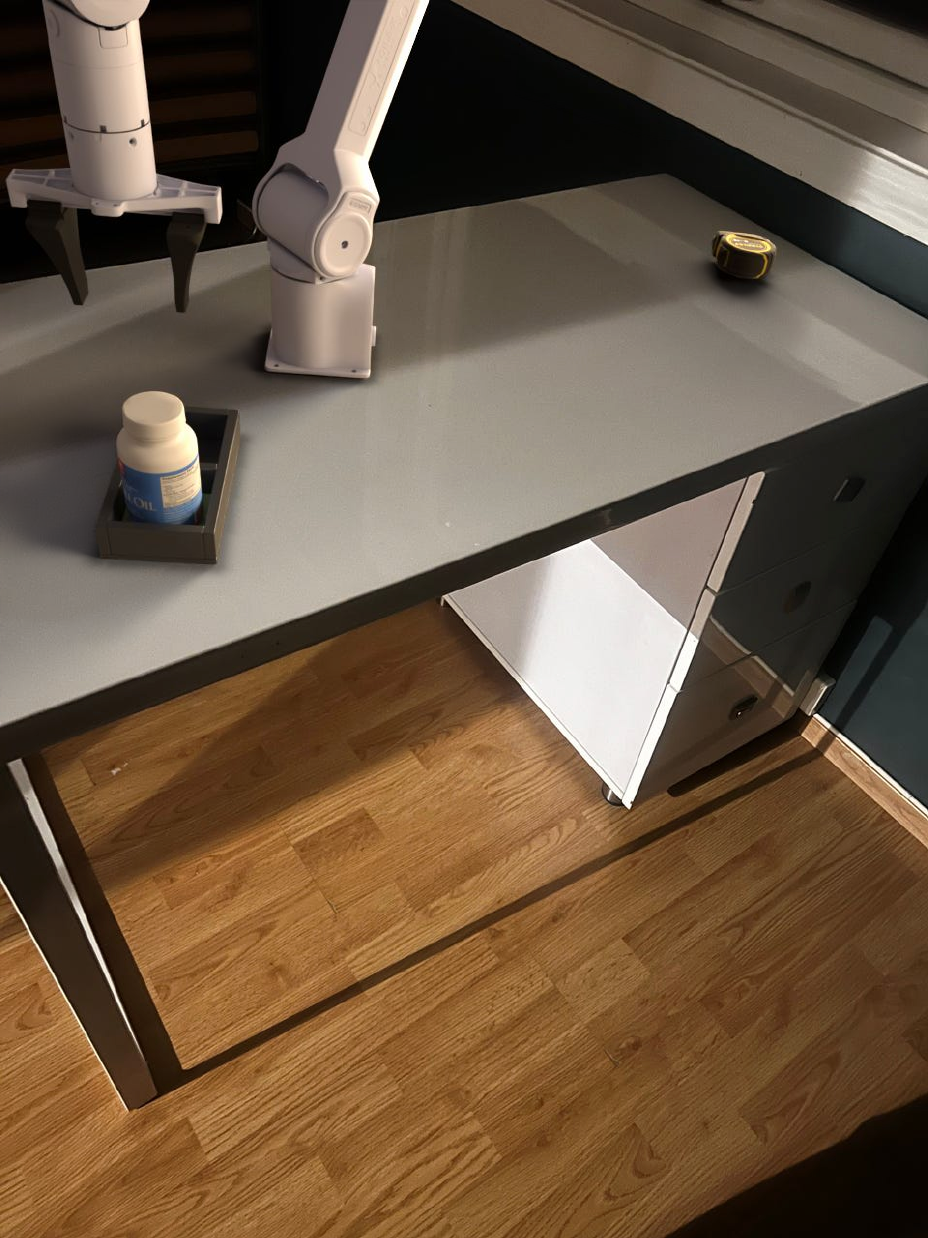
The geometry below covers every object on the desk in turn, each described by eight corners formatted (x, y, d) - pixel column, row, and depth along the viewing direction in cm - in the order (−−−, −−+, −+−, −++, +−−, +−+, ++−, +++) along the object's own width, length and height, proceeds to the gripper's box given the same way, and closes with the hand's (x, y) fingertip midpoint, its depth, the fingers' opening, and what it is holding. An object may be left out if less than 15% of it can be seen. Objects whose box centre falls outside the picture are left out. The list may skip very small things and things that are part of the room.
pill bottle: (113, 513, 72) (93, 399, 65) (177, 486, 75) (164, 375, 68) (155, 552, 70) (138, 439, 63) (219, 523, 72) (209, 412, 66)
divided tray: (241, 439, 81) (239, 409, 79) (217, 564, 70) (214, 533, 68) (140, 432, 80) (136, 402, 78) (100, 558, 69) (94, 527, 67)
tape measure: (763, 262, 117) (773, 232, 115) (772, 289, 112) (783, 257, 110) (707, 255, 117) (716, 224, 114) (714, 281, 112) (724, 249, 110)
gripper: (-23, 128, 63) (21, 321, 73) (207, 149, 65) (221, 335, 74) (6, 91, 68) (44, 276, 77) (220, 112, 70) (231, 290, 79)
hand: (132, 302), depth 76 cm, fingers open, 7 cm apart
